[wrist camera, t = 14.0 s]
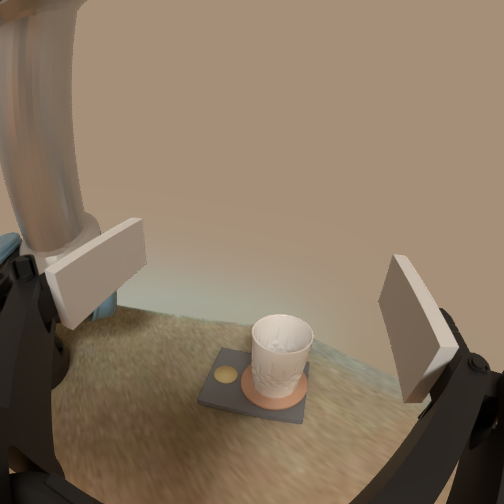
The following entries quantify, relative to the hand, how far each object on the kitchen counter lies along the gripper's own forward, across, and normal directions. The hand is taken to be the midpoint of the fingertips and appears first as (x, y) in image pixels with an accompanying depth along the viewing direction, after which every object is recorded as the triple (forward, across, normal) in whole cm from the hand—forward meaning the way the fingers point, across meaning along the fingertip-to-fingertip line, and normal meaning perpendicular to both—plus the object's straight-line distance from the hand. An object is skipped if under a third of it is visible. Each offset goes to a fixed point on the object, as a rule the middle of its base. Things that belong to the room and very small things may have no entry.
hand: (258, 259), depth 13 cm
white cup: (+15, +2, -27) cm, 31 cm away
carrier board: (+15, -1, -29) cm, 32 cm away
